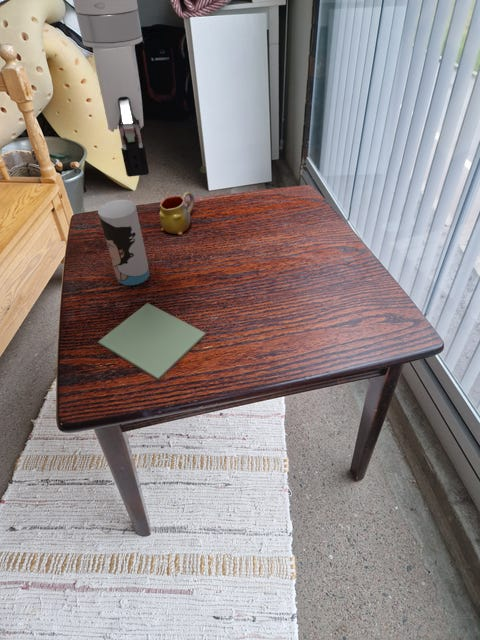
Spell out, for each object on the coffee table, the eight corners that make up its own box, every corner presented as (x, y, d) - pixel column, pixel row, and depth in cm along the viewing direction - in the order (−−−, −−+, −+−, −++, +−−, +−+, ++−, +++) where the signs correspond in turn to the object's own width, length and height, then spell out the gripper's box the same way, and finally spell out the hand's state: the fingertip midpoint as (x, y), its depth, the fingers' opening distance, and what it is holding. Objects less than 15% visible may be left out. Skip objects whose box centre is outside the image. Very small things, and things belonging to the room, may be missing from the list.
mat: (158, 380, 66) (158, 378, 66) (98, 343, 72) (97, 341, 72) (206, 335, 73) (205, 332, 73) (147, 305, 79) (147, 302, 79)
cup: (131, 261, 89) (115, 196, 79) (156, 270, 87) (143, 204, 76) (109, 279, 85) (89, 212, 75) (135, 289, 83) (118, 221, 72)
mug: (179, 238, 95) (176, 212, 91) (155, 231, 98) (150, 205, 93) (207, 214, 103) (205, 188, 98) (184, 208, 105) (181, 182, 101)
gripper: (81, 18, 59) (110, 142, 70) (77, 45, 46) (112, 189, 58) (136, 15, 60) (155, 138, 72) (146, 40, 48) (166, 183, 59)
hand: (136, 161), depth 65 cm, fingers open, 9 cm apart
